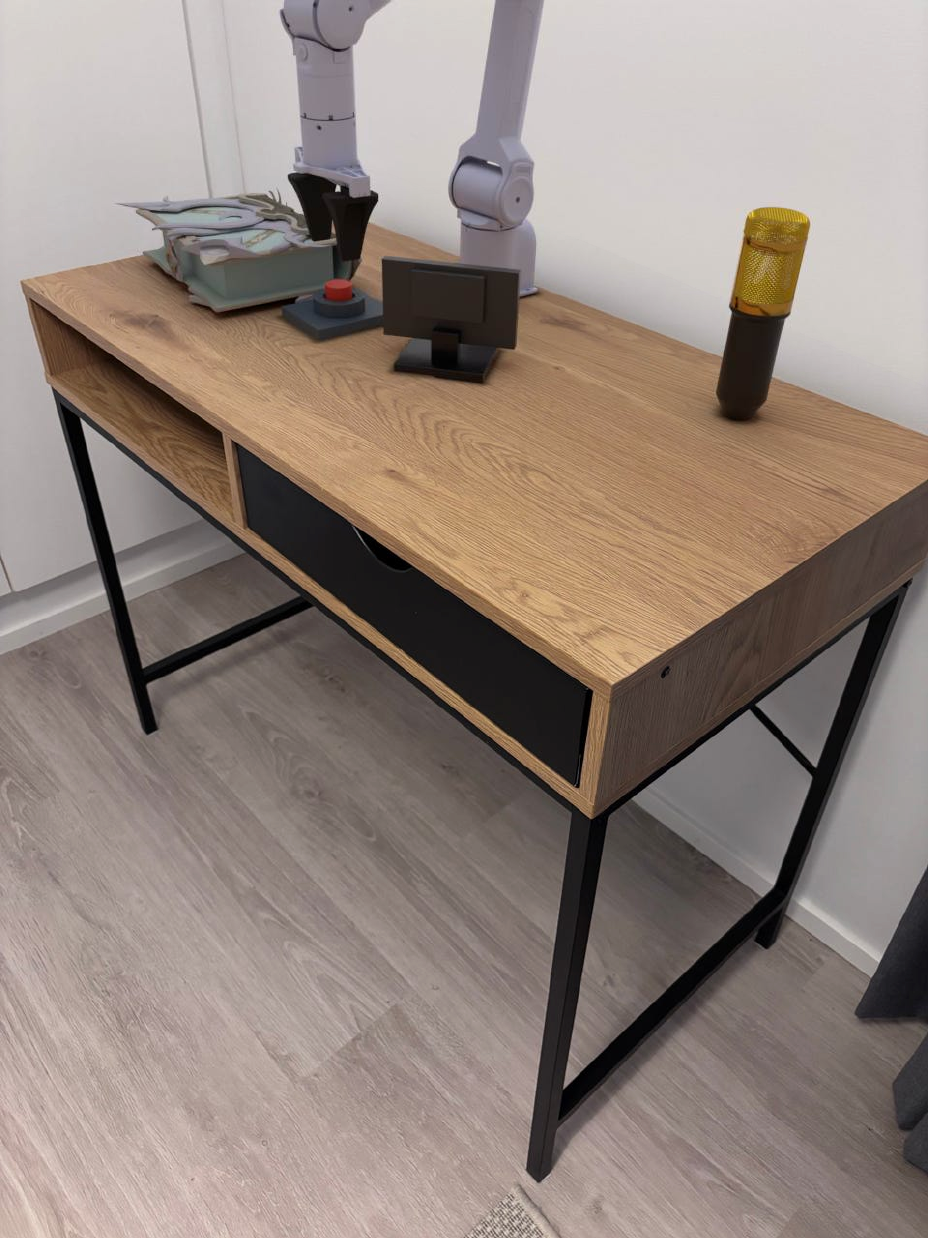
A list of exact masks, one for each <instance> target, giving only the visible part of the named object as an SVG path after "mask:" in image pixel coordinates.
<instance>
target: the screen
mask: <svg viewBox="0 0 928 1238" xmlns="http://www.w3.org/2000/svg"><path fill="white" fill-rule="evenodd" d="M520 280H521V270H518V269H508V268H499V267H489V266H479V265H470V264H460V262H459V263H458V262H449V261H441V260H440V261H439V260H431V259H420V258H411V257H402V256H391V255H384V256H383V257H382V258H381V286H382V287H381V288H382V291H381V293H382V295H381V296H382V303H383V325H382V329H383V330H382V331H383V332H382V333H383V335H384V336H391V337H400V338H409V339H412V338H416V339H425V340H431V332H432V330H433V329H434V327H437V328H446V329H455V330H461V344H468V345H476V346H485V347H493V348H500V349H501V350H510V351H515V349H516V348H517V344H518V328H519V327H518V326H519V309H520V298H521V296H520Z"/></svg>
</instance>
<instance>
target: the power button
mask: <svg viewBox="0 0 928 1238" xmlns="http://www.w3.org/2000/svg"><path fill="white" fill-rule="evenodd" d="M352 288H353V283H352V282H351V280H350V281H347V280H342V279H335V280H330V281H327V282H326V283H325V296H326V299H327V300H330V301H347V300H351V299H352Z"/></svg>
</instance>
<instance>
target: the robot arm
mask: <svg viewBox="0 0 928 1238" xmlns="http://www.w3.org/2000/svg"><path fill="white" fill-rule="evenodd" d="M392 1H394V0H283V7H282V8H280V9H279V10H278V11H279V12H278V13H279V18H280V21H281V25H282V27H283V29H284V31H285V32H286V34H287V35H288V37H289V39H290V41H291V45H292V55H293V56H295V66H296V78H297V94H298V107H299V122H300V135H301V145H300V146H294V161H295V162H293V163H292V168H293V171H295V172H291V173H288V174H287V180H288V182H289V185H291V187H292V189H293V191H294V193H295V194H296V197H297V199H298V202H299V205H300V206H301V210H302V214H303V215H304V217H305V220H306V224H307V227H308V231H309V234H310V237H311V240H312V241H313V242H316V241H323V240H329V239H330V237H331V232H333V228H334V233H335V234H336V241H337V247H338V252H339V256H340V258H341V260H342V261H344V262H345V261H351V260H357V259H360V257H361V258H362V252H363V247H364V242H365V237H366V232H367V228H368V224H369V221H370V219H371V217H372V214H373V211H374V209H375V207H376V206H377V204H378V203H379V193H378V192H377V191H374V190H371V176H370V175H369V174H367V173H366V172H365V170H364V168H363V165H362V164H361V161H360V159H359V158H358V138H357V137H358V136H357V133H358V132H357V113H356V112H357V111H356V91H355V89H356V88H355V87H356V86H355V64H354V46H355V45H357V43H358V42H359V40H360V39H361V37H362V34H363V32H364V29H365V25H366V22H367V21H368V20H369V19H371V18H372V17H373V16H374V15H376V14H377V13H378V12H380V11H382V9H383V8H385V7H386V6H387V5H389V4H390V3H391V2H392ZM544 4H545V0H494V7H493V13H492V18H491V19H492V20H491V21H492V22H491V27H490V32H489V41H488V47H487V54H486V60H485V65H484V66H485V67H484V73H483V81H482V88H481V93H480V101H479V107H478V113H477V121H476V128H475V133H473V135H471V136H470V137H469V138H468V139H466V140H465V141H464V142H463V143H462V144H461V145H460V146H459V147H458V153H457V154H458V155H457V159H456V163H455V165H454V167H453V169H452V171H451V173H450V175H449V180H448V186H447V191H448V197H449V201H450V203H451V205H452V206H453V207H454V208H455V209H456V211H457V214H456V217H457V218H458V219H460V238H459V239H460V245H459V249H460V250H459V263H460V264H470V265H479V266H489V267H499V268H508V269H518V270H521V280H520V297H525V296H529V295H532V294H536V293H538V288H537V287H535V286H534V285H535V272H536V270H535V269H536V258H537V257H536V256H537V236H536V231H535V228H534V227H533V225H532V223H531V222H530V220H528V218H527V217H528V215H529V213H530V212H531V209H532V207H533V203H534V199H535V187H534V179H533V177H534V169H535V168H534V167H535V161H534V159H533V158H532V156H531V155H530V153H529V152H528V150H527V149H526V147H525V146H524V144H523V142H522V140H521V139H522V134H523V129H524V127H523V126H524V121H525V114H526V109H527V105H528V104H527V103H528V97H529V92H530V86H531V80H532V75H533V74H532V73H533V69H534V62H535V58H536V57H535V56H536V53H537V52H536V51H537V45H538V40H539V33H540V28H541V22H542V16H543V10H544ZM337 186H338V187H339V190H338V191H336V190H337Z"/></svg>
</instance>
